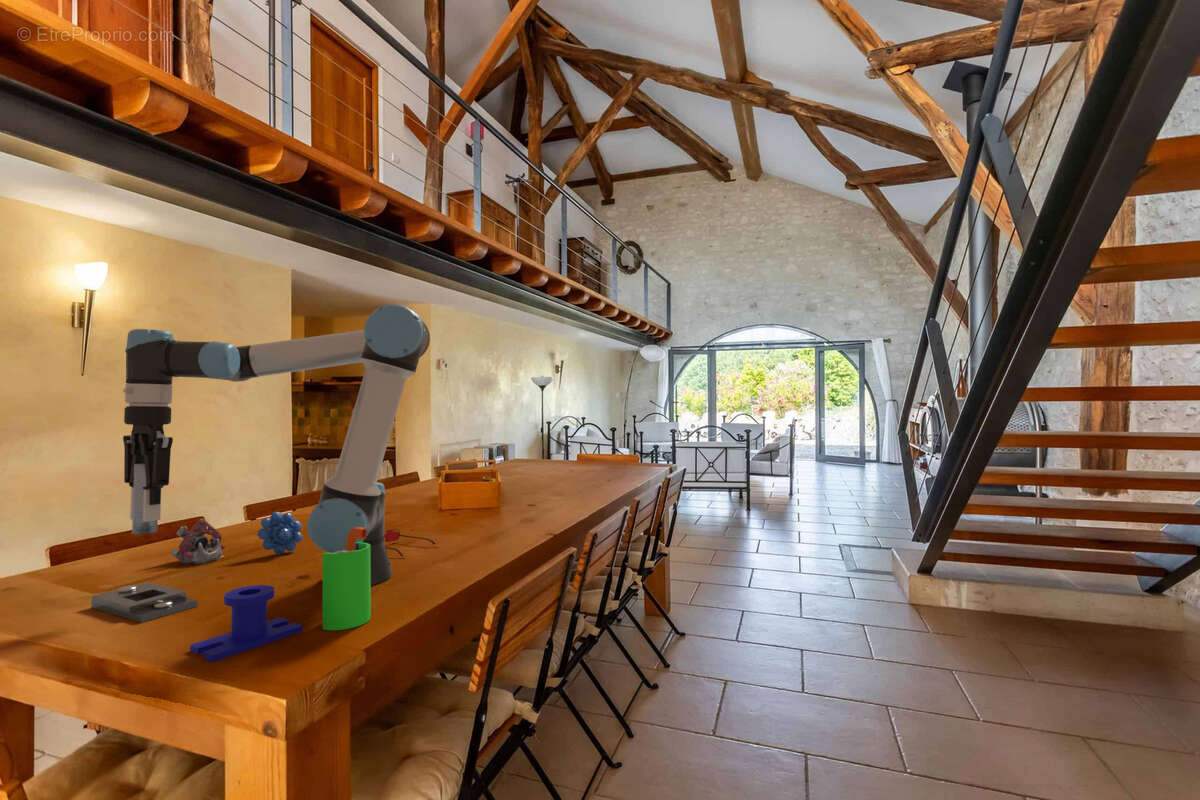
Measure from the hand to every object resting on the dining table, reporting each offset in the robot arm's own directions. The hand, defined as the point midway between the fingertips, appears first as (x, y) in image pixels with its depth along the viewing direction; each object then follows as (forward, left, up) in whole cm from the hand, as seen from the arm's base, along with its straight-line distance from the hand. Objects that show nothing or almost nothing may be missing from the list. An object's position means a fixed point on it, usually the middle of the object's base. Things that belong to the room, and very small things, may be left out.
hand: (145, 519), depth 115 cm
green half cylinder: (-43, -13, -18) cm, 49 cm away
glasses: (-12, -58, -19) cm, 62 cm away
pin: (0, 0, -3) cm, 3 cm away
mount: (-35, +1, -18) cm, 40 cm away
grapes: (+13, -39, -18) cm, 45 cm away
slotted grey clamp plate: (0, 0, -18) cm, 18 cm away
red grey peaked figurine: (+27, -26, -18) cm, 41 cm away
